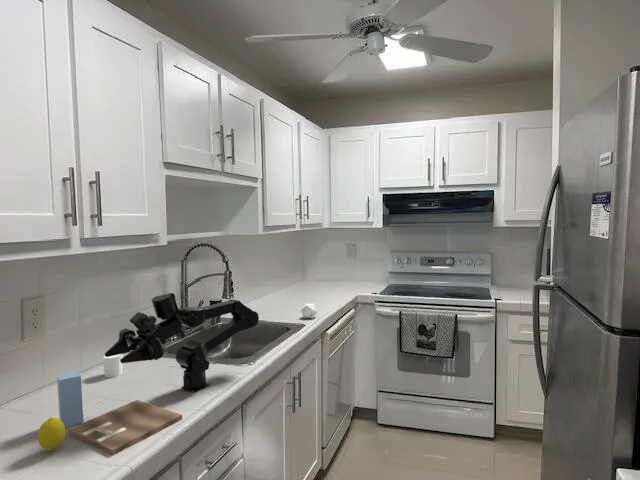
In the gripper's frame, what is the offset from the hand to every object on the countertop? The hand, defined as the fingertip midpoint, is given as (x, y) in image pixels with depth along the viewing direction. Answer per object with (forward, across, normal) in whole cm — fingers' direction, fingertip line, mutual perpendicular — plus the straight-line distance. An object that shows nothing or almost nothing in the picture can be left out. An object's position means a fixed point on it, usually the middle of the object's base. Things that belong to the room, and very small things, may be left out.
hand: (112, 358), depth 114 cm
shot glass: (-11, -35, +20) cm, 42 cm away
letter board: (+5, +7, +16) cm, 18 cm away
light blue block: (+12, -8, +14) cm, 21 cm away
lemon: (+21, +4, +12) cm, 24 cm away
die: (-111, -31, +47) cm, 125 cm away
